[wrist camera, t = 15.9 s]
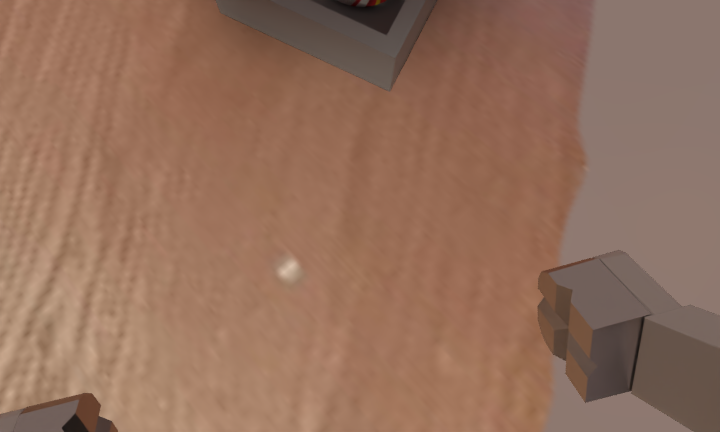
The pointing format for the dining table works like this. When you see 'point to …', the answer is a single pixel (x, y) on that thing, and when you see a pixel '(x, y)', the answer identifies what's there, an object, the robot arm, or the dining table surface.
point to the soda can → (361, 2)
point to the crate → (341, 31)
